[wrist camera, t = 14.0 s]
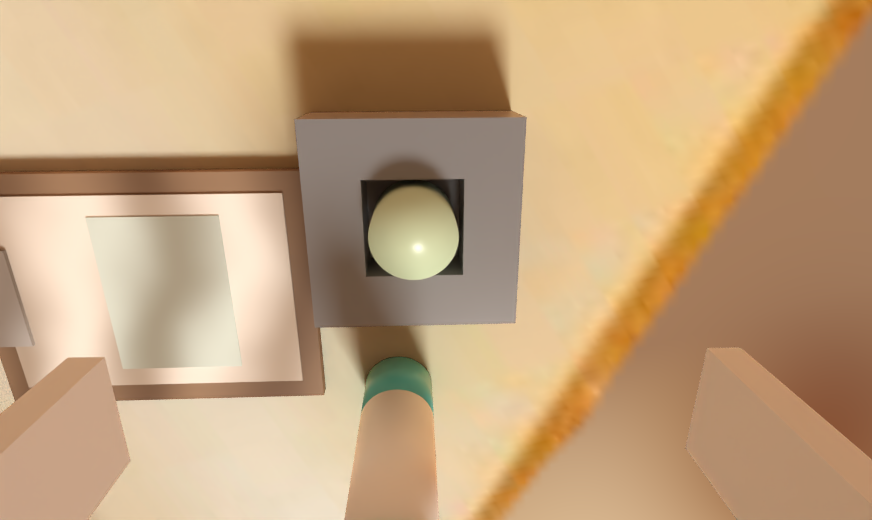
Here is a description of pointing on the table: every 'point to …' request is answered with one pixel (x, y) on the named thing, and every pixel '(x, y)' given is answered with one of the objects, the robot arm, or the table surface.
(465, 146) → the button console
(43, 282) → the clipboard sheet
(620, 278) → the table surface
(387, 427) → the marker
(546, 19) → the table surface
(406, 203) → the button
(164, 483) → the table surface
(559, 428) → the table surface
